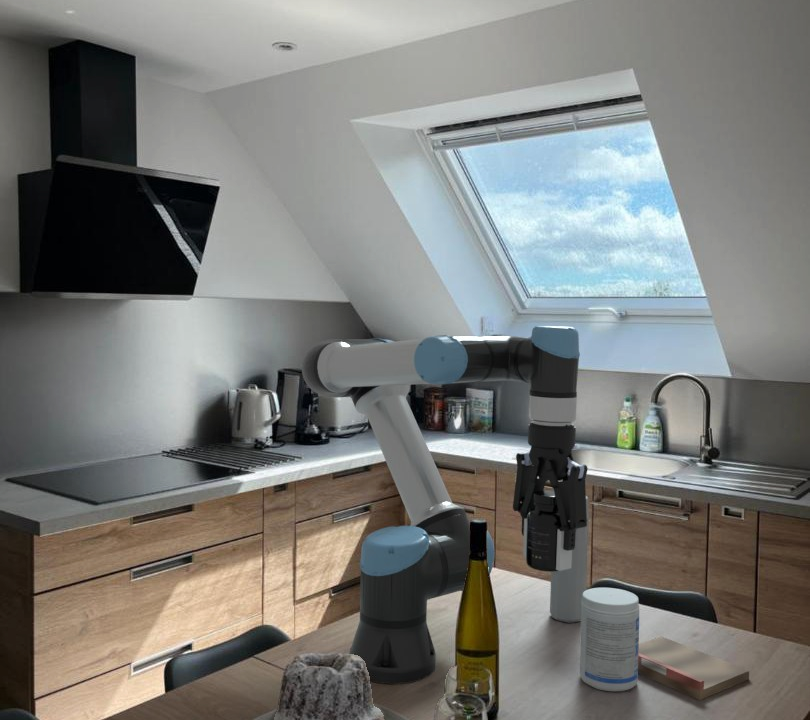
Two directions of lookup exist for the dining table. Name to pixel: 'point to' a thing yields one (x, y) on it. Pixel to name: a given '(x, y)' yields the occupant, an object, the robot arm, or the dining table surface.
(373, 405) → the robot arm
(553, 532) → the supplement bottle
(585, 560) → the water bottle
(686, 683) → the beige hardcover book
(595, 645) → the supplement tub
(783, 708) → the dining table surface
